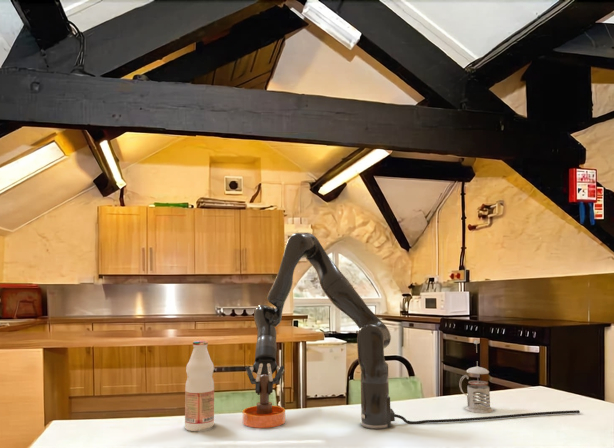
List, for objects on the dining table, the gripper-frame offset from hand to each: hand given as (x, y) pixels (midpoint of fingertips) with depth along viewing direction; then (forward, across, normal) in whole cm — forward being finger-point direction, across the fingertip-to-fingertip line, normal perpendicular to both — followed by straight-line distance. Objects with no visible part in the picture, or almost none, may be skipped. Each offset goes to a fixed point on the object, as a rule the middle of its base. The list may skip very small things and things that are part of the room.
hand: (263, 393), depth 175 cm
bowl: (+6, 0, +9) cm, 11 cm away
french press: (-5, +77, +21) cm, 80 cm away
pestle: (+3, 0, +6) cm, 7 cm away
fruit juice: (+8, -21, +7) cm, 24 cm away
